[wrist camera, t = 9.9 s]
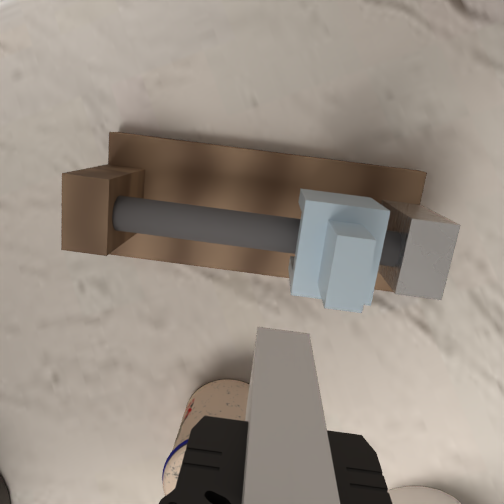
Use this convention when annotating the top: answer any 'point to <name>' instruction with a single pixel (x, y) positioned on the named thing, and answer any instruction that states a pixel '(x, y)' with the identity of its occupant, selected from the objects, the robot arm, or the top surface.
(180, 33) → the top surface
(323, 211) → the light blue slider block
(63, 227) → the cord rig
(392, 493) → the honey pot
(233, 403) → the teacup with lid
